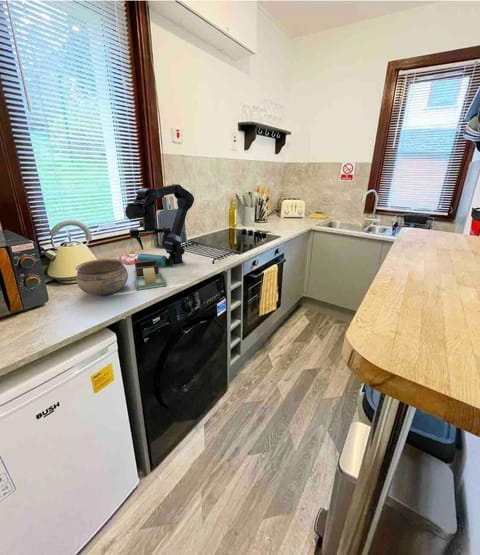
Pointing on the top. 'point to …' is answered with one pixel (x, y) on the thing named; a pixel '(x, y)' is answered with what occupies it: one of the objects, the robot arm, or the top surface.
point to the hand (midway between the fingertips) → (152, 248)
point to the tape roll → (149, 275)
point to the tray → (150, 284)
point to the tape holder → (143, 265)
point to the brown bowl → (101, 276)
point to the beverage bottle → (160, 259)
